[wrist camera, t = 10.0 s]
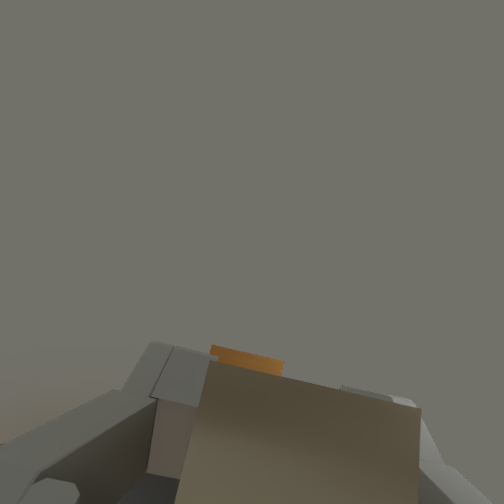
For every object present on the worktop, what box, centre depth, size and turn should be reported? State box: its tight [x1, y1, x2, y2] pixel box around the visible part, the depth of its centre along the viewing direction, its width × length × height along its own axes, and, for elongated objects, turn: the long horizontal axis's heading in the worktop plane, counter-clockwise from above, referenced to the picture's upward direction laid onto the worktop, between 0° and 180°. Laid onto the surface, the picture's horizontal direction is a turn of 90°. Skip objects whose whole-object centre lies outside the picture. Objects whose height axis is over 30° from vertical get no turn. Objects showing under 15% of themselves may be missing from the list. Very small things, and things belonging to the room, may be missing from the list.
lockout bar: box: [174, 345, 421, 504], centre depth 15 cm, size 22×4×4 cm, turn 2°
